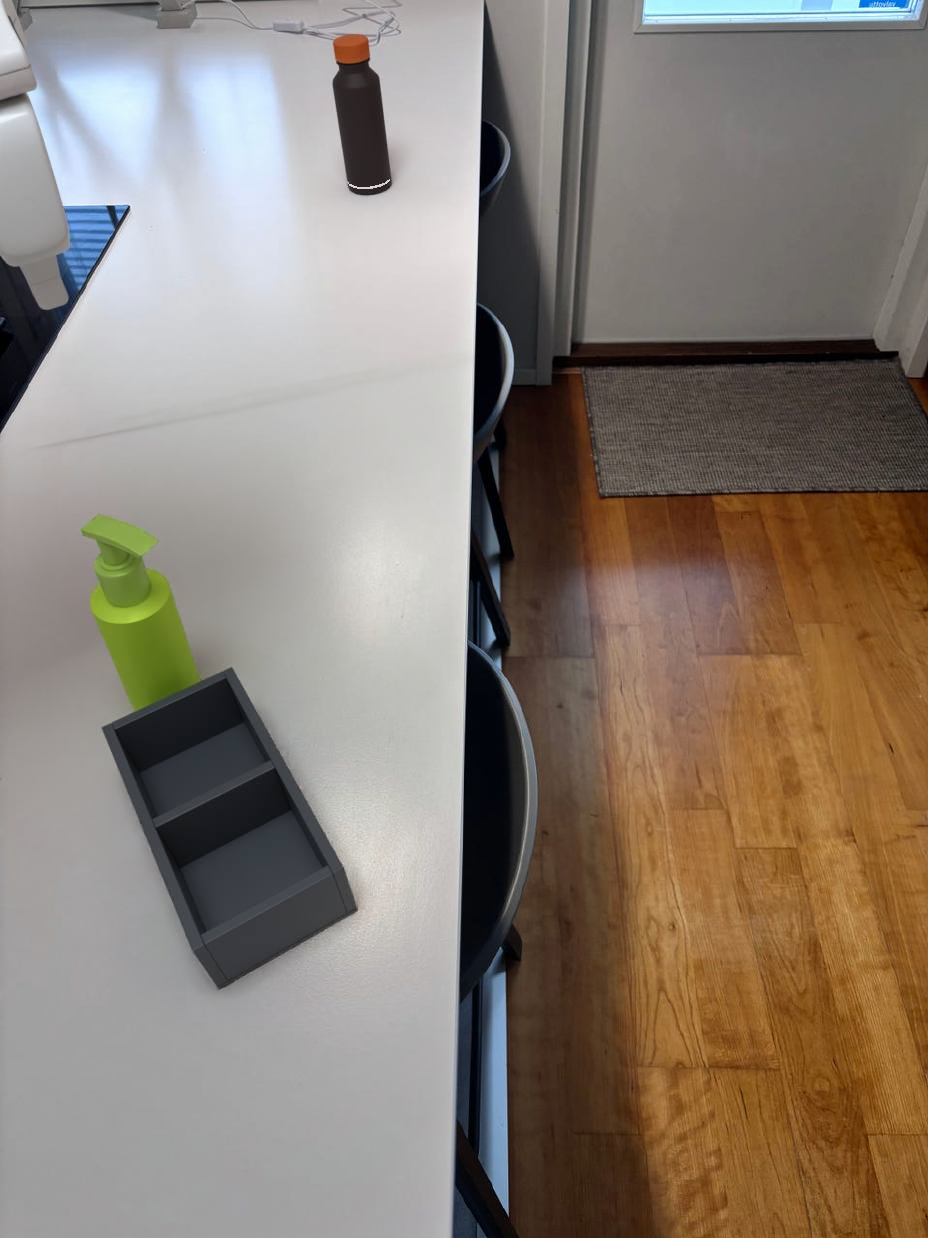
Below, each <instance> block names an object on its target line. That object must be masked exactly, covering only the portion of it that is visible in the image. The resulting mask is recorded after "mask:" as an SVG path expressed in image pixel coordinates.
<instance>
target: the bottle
mask: <svg viewBox="0 0 928 1238" xmlns="http://www.w3.org/2000/svg"><path fill="white" fill-rule="evenodd" d="M332 47H333V54H334V60H335V64H336V65H337V66H338V71H337V72H336V73H335V75H334V77H333V78H332V85H331V86H332V91H333V98H334V104H335V111H336V112H335V113H336V117H337V124H338V130H339V138H340V145H341V150H342V156H343V163H344V169H345V177H346V182H347V181H348V182H349V184H352V185H354V186H357V187H370V186H375V185H379V184H382V183H385V182H386V181H387V180H389V179H390V177H391V178H392V173H391V164H390V154H389V147H388V137H387V130H386V129H387V128H386V121H385V113H384V104H383V103H384V102H383V97H382V88H381V87H382V86H381V79H380V76H379V74H378V73H377V72H376V71H375V70H374V69H372V67H370V61H371V51H370V43H369V38H368V37H367V36H366V35H364V34H359V33H350V34H343V35H341V36H338V37H335V39H334V40H333V41H332ZM349 184H348V183H347V188H348V189H349V190H350V192H352V193H355V194H358V195H375V194H379V193H383V192H385V191H386V190H388V189H389V188H390V187H391V185H392V179H391V180H390V181H389V182H388V183H387V184H385V185H383V186H381V187H377V188H373V189H357V188H353V187H351V186H349Z"/></svg>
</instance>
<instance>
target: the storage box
mask: <svg viewBox="0 0 928 1238" xmlns="http://www.w3.org/2000/svg"><path fill="white" fill-rule="evenodd" d="M101 731H102V733H103V735H104V737H105V740H106V743H107V745H108V747H109V750H110V752H111V755H112V757H113V760H114V763H115V765H116V767H117V770H118V772H119V774H120V777H121V779H122V782H123V784H124V787H125V790H126V792H127V795H128V797H129V800H130V802H131V804H132V807H133V809H134V812H135V814H136V817H137V819H138V822H139V824H140V826H141V828H142V831H143V833H144V836H145V838H146V841H147V843H148V846H149V849H150V851H151V853H152V856H153V858H154V860H155V863H156V865H157V868H158V870H159V872H160V875H161V878H162V880H163V882H164V885H165V887H166V890H167V893H168V895H169V897H170V900H171V902H172V904H173V907H174V910H175V912H176V915H177V916H178V919H179V922H180V925H181V926H182V927H181V928H182V929H183V932H184V934H185V937H186V939H187V942H188V944H189V946H190V949H191V951H192V953H193V954H194V956H195V957H196V959H197V960H198V962H199V963H200V964H201V966H202V968H203V969H204V971H205V972H206V973H207V975H208V976H209V978H210V980H211V981H212V982H213V983H214V985H215V987H216V988H217V989H218V990H222V988H224V987H226V986H228V985H230V984H231V983H233V982H235V981H237V980H239V979H240V978H242V977H244V976H245V975H247V974H249V973H250V972H252V971H254V970H256V969H258V968H260V967H261V966H263V965H265V964H267V963H268V962H270V961H272V960H274V959H275V958H277V957H279V956H281V955H282V954H284V953H286V952H288V951H289V950H291V949H294V948H295V947H296V946H298V945H300V944H301V943H304V942H305V941H307V940H309V939H310V938H312V937H314V936H316V935H318V934H319V933H321V932H323V931H324V930H326V929H327V928H330V927H331V926H333V925H335V924H337V923H338V922H341V921H342V920H344V919H346V918H347V917H349V916H351V915H352V914H354V913H356V912H358V911H359V909H358V906H357V903H356V900H355V897H354V894H353V891H352V888H351V885H350V882H349V879H348V876H347V873H346V870H345V867H344V866H343V863H342V862H341V860H340V858H339V857H338V855H337V853H336V851H335V849H334V848H333V845H332V844H331V842H330V840H329V839H328V837H327V835H326V833H325V831H324V830H323V827H322V826H321V824H320V821H318V818H317V817H316V815H315V814H314V811H313V810H312V808H311V806H310V804H309V802H308V801H307V799H306V796H305V795H304V793H303V792H302V790H301V788H300V787H299V784H298V783H297V781H296V778H295V777H294V775H293V774H292V772H291V770H290V769H289V766H288V765H287V763H286V761H285V759H284V758H283V756H282V754H281V752H280V750H279V749H278V747H277V745H276V743H275V741H274V740H273V738H272V736H271V735H270V733H269V730H268V729H267V727H266V725H265V724H264V722H263V720H262V718H261V716H260V714H259V712H258V711H257V709H256V707H255V705H254V703H253V702H252V700H251V698H250V696H249V695H248V692H247V691H246V689H245V688H244V685H243V683H242V682H241V680H240V679H239V677H238V675H237V673H236V672H235V669H234V668H233V667H232V666H231V667H228V668H226V669H224V670H223V671H220V672H217V673H215V674H213V675H211V676H209V677H207V678H204V679H202V680H201V681H200V682H198V683H196V684H194V685H191V686H189V687H187V688H185V689H183V690H181V691H179V692H176V693H174V694H172V695H170V696H168V697H166V698H163V699H161V700H159V701H157V702H155V703H153V704H150V705H148V706H146V707H144V708H142V709H140V710H137V711H135V712H134V711H133V712H131V713H129V714H127V715H124V716H122V717H120V718H118V719H116V720H113V721H112V722H110V723H108V724H106V725H103V726H101Z"/></svg>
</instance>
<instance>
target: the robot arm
mask: <svg viewBox="0 0 928 1238" xmlns="http://www.w3.org/2000/svg"><path fill="white" fill-rule="evenodd" d="M27 44H28V42H27V37H26V35H25V31H24V30H23V27H22V23H21V20H20V18H19V16H18V13H17V10H16V7H15V4H14V2H13V0H0V258H2V260H3V261H4V262H5V264H7V265H8V266H10V267H19V269H20V270H21V272H22V274H23V276H24V278H25V280H26V282H27V284H28V287H29V289H30V292H31V294H32V296H33V298H34V300H35V302H36V304H37V305H38V307H39V308H40V309H41V310H43V311H44V310H45V311H49V310H53V309H56V308H59V307H62V306H64V305H66V304H68V301H69V294H68V291H67V289H66V286H65V284H64V282H63V280H62V276H61V271H60V267H59V263H58V258H57V256H58V255H60V254H63V253H66V252H67V251H68V250H69V249H70V248H71V247H70V246H71V235H70V228H69V222H68V219H67V214H66V211H65V208H64V205H63V200H62V197H61V193H60V190H59V187H58V183H57V180H56V179H57V178H56V176H55V172H54V169H53V165H52V163H51V159H50V156H49V152H48V150H47V146H46V142H45V139H44V136H43V133H42V129H41V127H40V124H39V121H38V118H37V115H36V111H35V109H34V106H33V104H32V101H31V99H30V96H29V94H28V93H30V92H33V91H36V90H37V88H38V82H37V79H36V75H35V72H34V70H33V67H32V64H31V61H30V58H29V56H28V53H27V51H26V49H27Z"/></svg>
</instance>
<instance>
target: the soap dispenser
mask: <svg viewBox="0 0 928 1238" xmlns="http://www.w3.org/2000/svg"><path fill="white" fill-rule="evenodd" d="M80 532H81V534H82V536H83V537H86V538H89V539H92V540H95V541H96V543H97V546H98V548H99V551H100V553H99V554H98V555H97V556H96V558H95V559H94V562H93V570H94V572H95V575H96V578H97V580H98V582H99V583H98V584H97V585H96V586H95V588H94V589H93V591H92V592H91V595H90V598H89V607H90V611H91V613H92V615H93V618H94V620H95V622H96V624H97V627H98V629H99V631H100V634H101V636H102V639H103V641H104V644H105V646H106V648H107V651H108V653H109V656H110V658H111V660H112V662H113V665H114V667H115V670H116V672H117V675H118V677H119V680H120V682H121V684H122V686H123V688H124V691H125V694H126V696H127V698H128V700H129V703H130V705H131V708H132V710H133V712H135V711H137V710H140V709H142V708H144V707H146V706H148V705H150V704H153V703H155V702H157V701H159V700H161V699H163V698H166V697H168V696H170V695H172V694H174V693H176V692H179V691H181V690H183V689H185V688H187V687H189V686H191V685H194V684H196V683H198V682H200V681H202V680H201V677H200V674H199V671H198V668H197V665H196V661H195V659H194V656H193V652H192V649H191V647H190V644H189V640H188V637H187V634H186V631H185V629H184V626H183V622H182V620H181V616H180V613H179V609H178V606H177V603H176V601H175V600H176V599H175V597H174V594H173V591H172V589H171V585H170V582H169V581H168V578H166V576H165V575H164V574H162V573H160V572H159V571H157V570H154V569H151V568H147V567H146V566H145V562H144V560H143V557H144V556H145V555H146V554H147V553H148V552H149V551H150V550H151V549H152V548H153V547H154V546H155V545H157V544H158V542H159V541H160V539H159V538H157V537H156V536H154V535H152V534H151V533H149V532H147V531H146V530H144V529H141V527H140V528H139V527H138V526H136V525H133V524H131V523H129V522H126V521H123V520H120V519H116V518H115V517H111V516H107V515H104V514H100V513H98V514H97V515H95V516H94V518H92V519H91V520H90V521H89V522H88V523H87V524H85V525H84V526H82V528H81V529H80Z"/></svg>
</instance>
